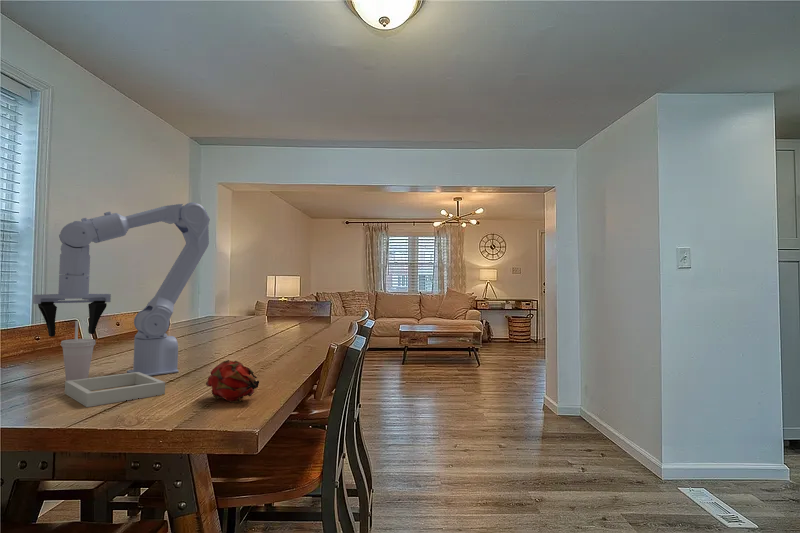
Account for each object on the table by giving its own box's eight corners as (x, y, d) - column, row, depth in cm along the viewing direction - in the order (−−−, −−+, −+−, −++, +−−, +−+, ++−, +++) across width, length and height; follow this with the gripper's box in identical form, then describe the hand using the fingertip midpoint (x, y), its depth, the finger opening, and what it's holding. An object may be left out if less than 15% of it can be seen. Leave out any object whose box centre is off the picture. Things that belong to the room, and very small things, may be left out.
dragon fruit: (214, 401, 100) (252, 419, 94) (187, 383, 94) (226, 402, 88) (237, 365, 104) (276, 381, 98) (213, 346, 98) (253, 362, 91)
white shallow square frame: (138, 382, 107) (138, 371, 108) (164, 394, 98) (165, 382, 98) (64, 393, 97) (65, 381, 97) (86, 407, 88) (87, 393, 88)
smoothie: (52, 385, 103) (54, 321, 103) (81, 380, 109) (84, 318, 109) (71, 389, 100) (74, 322, 101) (100, 383, 106) (103, 320, 107)
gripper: (104, 275, 116) (102, 330, 116) (30, 274, 105) (28, 335, 105) (114, 275, 112) (112, 333, 111) (38, 274, 101) (36, 338, 100)
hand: (72, 334), depth 108 cm, fingers open, 7 cm apart
